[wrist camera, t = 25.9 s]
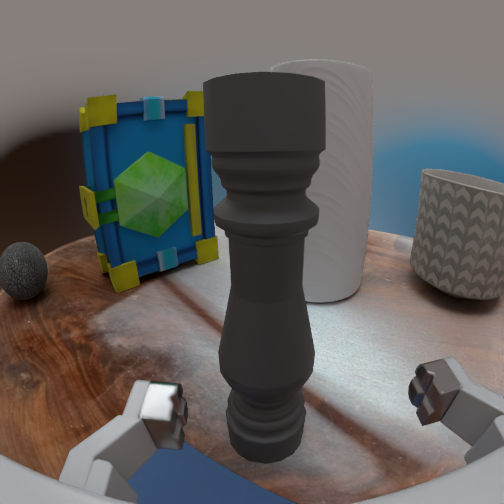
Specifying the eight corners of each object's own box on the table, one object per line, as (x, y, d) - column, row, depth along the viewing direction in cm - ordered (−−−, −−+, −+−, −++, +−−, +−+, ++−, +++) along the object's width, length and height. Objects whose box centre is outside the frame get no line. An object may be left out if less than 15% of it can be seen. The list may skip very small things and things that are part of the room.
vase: (370, 274, 48) (382, 80, 36) (342, 317, 37) (356, 56, 25) (297, 256, 56) (298, 81, 44) (252, 289, 45) (246, 66, 33)
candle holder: (264, 476, 18) (263, 62, 8) (214, 431, 22) (172, 90, 12) (317, 431, 22) (356, 87, 12) (266, 396, 26) (264, 94, 16)
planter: (511, 325, 30) (546, 206, 23) (402, 303, 39) (423, 177, 32) (491, 273, 45) (509, 184, 38) (409, 256, 54) (420, 165, 47)
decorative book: (94, 270, 52) (71, 110, 40) (195, 240, 65) (186, 100, 54) (113, 302, 41) (83, 95, 30) (234, 260, 55) (227, 89, 43)
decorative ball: (5, 316, 36) (-15, 261, 32) (11, 291, 43) (-4, 243, 39) (54, 302, 41) (37, 245, 37) (54, 278, 49) (41, 229, 45)
